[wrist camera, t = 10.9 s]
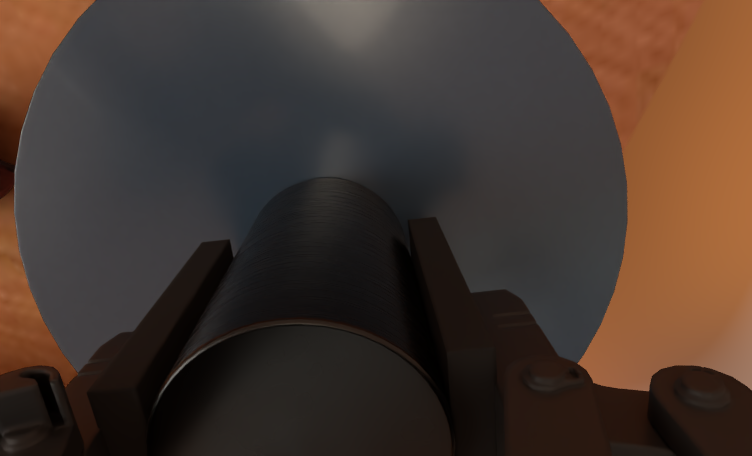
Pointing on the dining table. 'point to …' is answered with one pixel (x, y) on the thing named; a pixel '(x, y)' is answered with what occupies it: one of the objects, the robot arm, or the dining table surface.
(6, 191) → the mate gourd
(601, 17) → the dining table surface
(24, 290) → the dining table surface
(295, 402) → the lid
